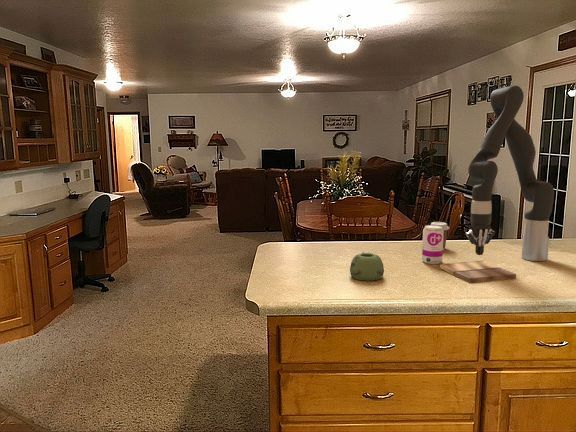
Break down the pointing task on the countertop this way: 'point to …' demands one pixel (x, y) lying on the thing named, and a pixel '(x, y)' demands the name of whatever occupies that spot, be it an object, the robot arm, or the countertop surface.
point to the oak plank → (466, 266)
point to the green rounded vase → (367, 267)
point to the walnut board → (484, 274)
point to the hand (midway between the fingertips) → (479, 254)
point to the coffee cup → (443, 229)
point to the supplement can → (432, 244)
